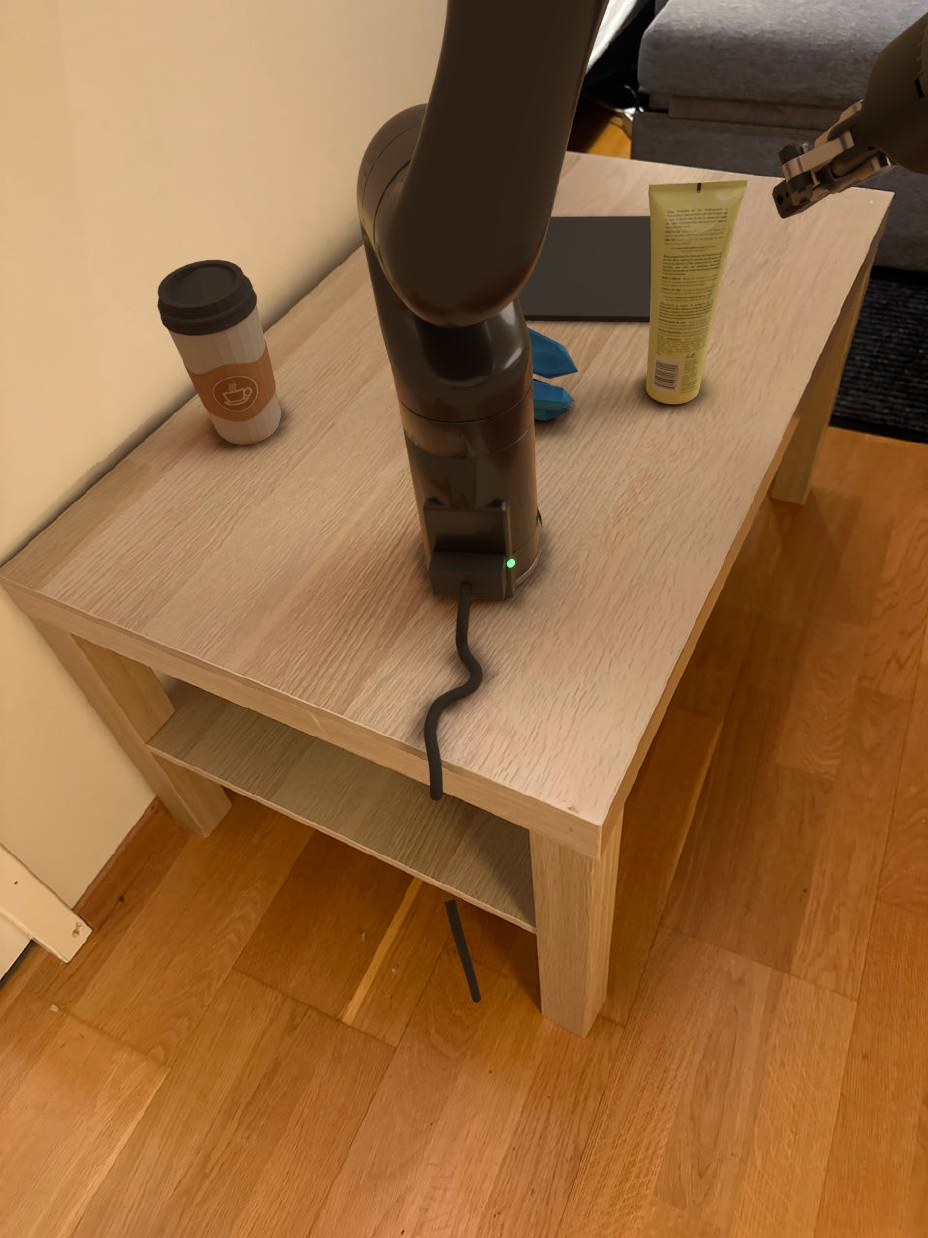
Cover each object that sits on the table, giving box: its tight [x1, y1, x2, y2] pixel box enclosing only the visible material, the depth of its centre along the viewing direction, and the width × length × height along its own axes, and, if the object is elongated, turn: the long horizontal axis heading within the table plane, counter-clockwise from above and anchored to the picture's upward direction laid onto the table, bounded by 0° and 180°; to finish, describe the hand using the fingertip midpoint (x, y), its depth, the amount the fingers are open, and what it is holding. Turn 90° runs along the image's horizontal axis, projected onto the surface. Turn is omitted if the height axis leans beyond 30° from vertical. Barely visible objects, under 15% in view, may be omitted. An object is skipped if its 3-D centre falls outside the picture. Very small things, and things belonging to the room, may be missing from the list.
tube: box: [645, 178, 748, 405], centre depth 76 cm, size 6×5×20 cm
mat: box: [518, 215, 651, 322], centre depth 98 cm, size 20×22×1 cm
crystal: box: [527, 326, 579, 422], centre depth 81 cm, size 7×9×12 cm
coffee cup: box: [156, 259, 282, 445], centre depth 81 cm, size 8×8×15 cm
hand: (784, 202), depth 61 cm, fingers closed
